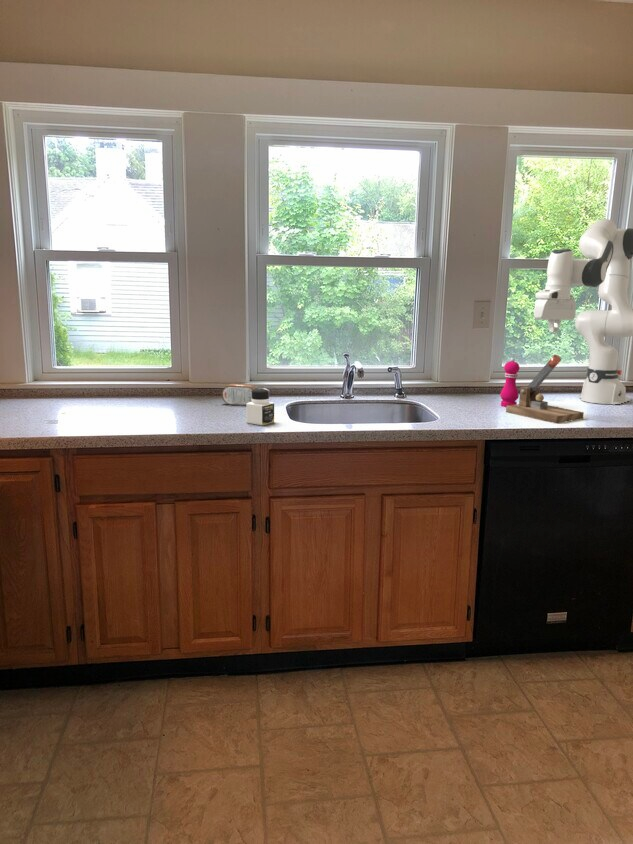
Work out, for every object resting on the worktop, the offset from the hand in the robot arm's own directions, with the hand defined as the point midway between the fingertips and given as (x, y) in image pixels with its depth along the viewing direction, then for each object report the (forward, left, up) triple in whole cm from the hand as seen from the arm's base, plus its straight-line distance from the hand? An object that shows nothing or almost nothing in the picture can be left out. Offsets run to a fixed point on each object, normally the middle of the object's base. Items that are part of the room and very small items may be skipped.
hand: (553, 332), depth 235 cm
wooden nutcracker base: (0, -1, -32) cm, 32 cm away
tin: (+93, -74, -32) cm, 123 cm away
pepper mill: (-3, -20, -32) cm, 38 cm away
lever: (0, -2, -18) cm, 19 cm away
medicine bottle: (+101, -42, -32) cm, 114 cm away
